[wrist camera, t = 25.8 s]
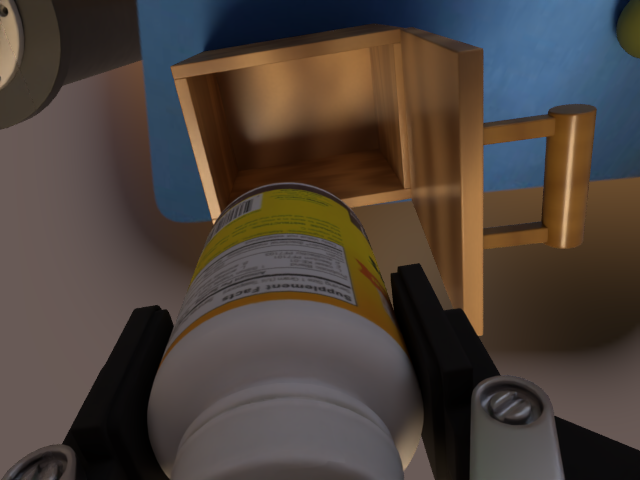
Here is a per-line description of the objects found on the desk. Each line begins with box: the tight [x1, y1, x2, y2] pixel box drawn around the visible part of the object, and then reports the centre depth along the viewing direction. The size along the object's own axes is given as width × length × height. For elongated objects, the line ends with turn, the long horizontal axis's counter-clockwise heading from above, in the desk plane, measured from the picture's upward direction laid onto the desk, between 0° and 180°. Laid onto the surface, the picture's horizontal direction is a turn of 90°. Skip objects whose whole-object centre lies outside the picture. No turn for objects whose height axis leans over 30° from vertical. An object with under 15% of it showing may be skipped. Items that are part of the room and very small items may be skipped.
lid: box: [400, 27, 597, 336], centre depth 24 cm, size 15×11×5 cm
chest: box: [171, 24, 412, 225], centre depth 37 cm, size 15×11×12 cm
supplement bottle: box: [147, 182, 424, 480], centre depth 12 cm, size 6×6×10 cm
